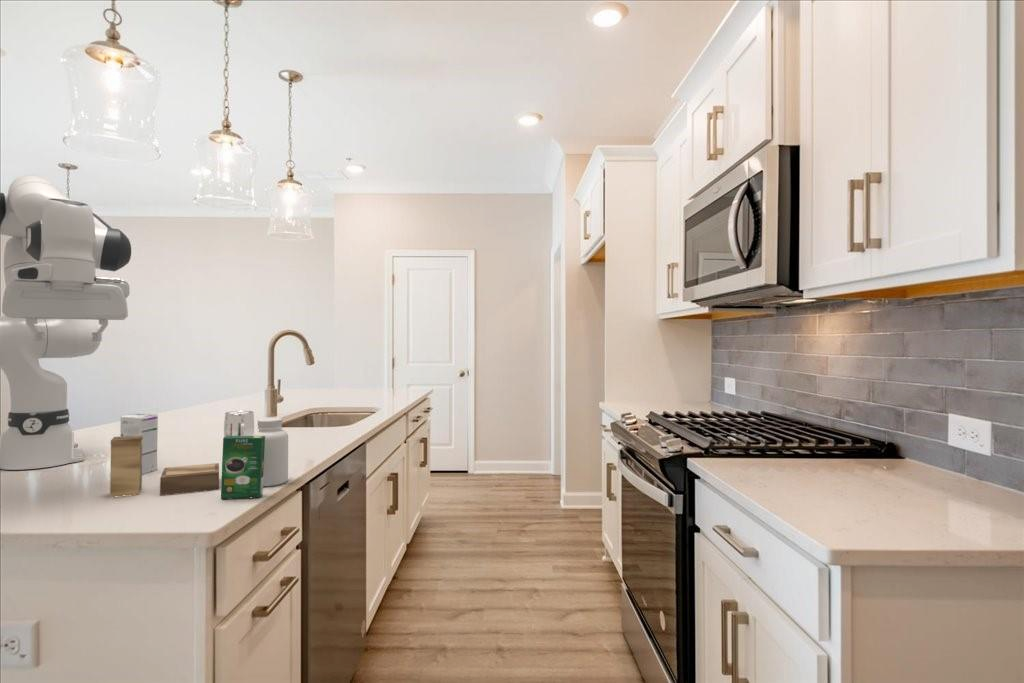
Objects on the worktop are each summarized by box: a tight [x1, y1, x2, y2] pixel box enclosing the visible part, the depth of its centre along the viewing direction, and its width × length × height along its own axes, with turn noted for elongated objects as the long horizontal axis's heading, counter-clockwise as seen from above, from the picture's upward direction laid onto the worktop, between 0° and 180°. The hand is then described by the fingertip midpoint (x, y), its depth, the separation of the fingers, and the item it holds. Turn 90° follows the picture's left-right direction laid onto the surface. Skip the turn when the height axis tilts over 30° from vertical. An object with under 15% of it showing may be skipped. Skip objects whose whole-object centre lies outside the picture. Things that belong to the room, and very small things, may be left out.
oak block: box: [109, 435, 143, 498], centre depth 114 cm, size 5×5×12 cm
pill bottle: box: [252, 417, 289, 487], centre depth 124 cm, size 8×8×15 cm
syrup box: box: [119, 413, 159, 475], centre depth 132 cm, size 6×6×14 cm
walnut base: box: [159, 462, 220, 496], centre depth 120 cm, size 10×11×4 cm
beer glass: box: [223, 410, 255, 438], centre depth 135 cm, size 7×7×15 cm
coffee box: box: [220, 436, 265, 500], centre depth 113 cm, size 8×3×13 cm, turn 102°
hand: (68, 340), depth 111 cm, fingers open, 8 cm apart
